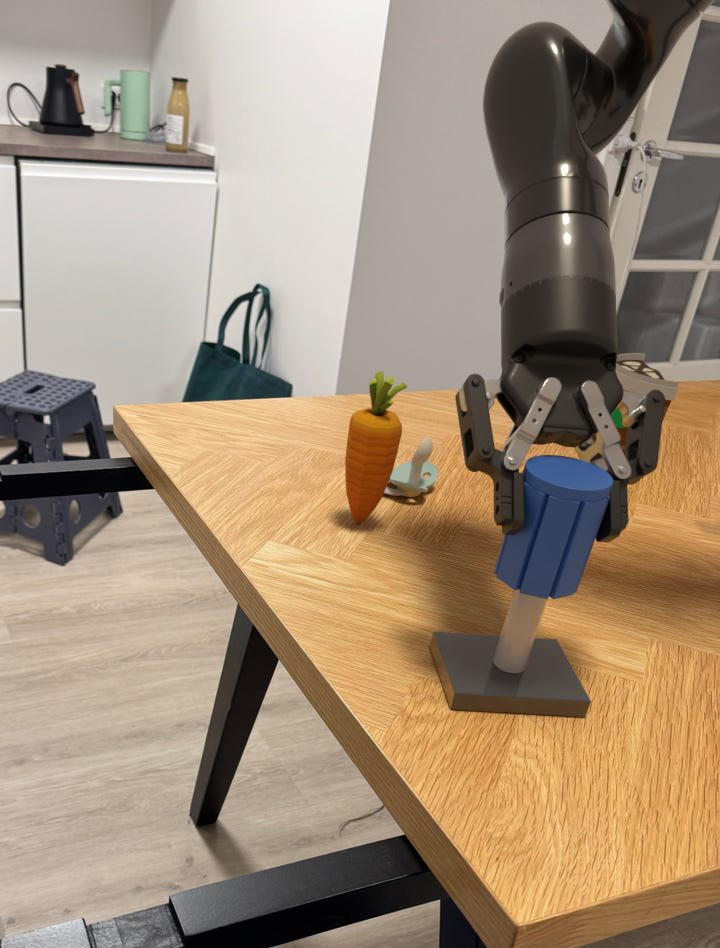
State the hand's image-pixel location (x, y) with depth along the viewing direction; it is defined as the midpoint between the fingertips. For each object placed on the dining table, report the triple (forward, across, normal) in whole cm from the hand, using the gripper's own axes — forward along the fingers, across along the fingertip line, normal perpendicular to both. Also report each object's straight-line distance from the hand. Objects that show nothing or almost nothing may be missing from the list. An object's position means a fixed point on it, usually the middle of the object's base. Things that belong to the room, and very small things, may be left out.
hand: (561, 534), depth 59 cm
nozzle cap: (+2, 0, +4) cm, 5 cm away
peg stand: (+8, 0, +11) cm, 14 cm away
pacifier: (-16, -2, +35) cm, 38 cm away
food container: (-29, +28, +48) cm, 63 cm away
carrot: (-9, -8, +28) cm, 31 cm away
